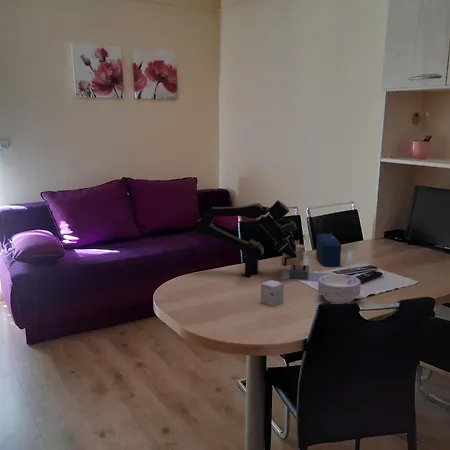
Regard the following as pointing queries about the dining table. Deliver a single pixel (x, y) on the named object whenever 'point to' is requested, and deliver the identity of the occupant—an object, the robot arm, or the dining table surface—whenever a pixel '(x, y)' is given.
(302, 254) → the slat
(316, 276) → the base board
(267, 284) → the skincare box
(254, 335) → the dining table surface
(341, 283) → the paper bowls
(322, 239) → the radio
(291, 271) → the end cap
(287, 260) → the ammunition clip
